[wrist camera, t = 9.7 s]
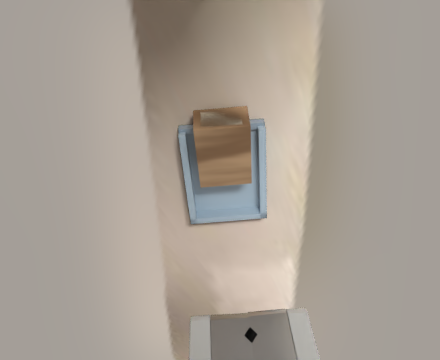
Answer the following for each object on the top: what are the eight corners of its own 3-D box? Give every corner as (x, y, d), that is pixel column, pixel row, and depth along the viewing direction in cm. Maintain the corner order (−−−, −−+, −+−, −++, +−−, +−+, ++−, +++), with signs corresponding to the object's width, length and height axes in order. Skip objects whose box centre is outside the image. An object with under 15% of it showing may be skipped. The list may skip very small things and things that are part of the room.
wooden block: (193, 130, 43) (200, 187, 48) (250, 126, 43) (251, 183, 48) (193, 110, 46) (200, 166, 51) (246, 106, 46) (248, 162, 51)
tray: (178, 125, 48) (177, 133, 47) (263, 118, 48) (265, 126, 47) (191, 214, 56) (191, 224, 54) (264, 208, 56) (266, 217, 54)
